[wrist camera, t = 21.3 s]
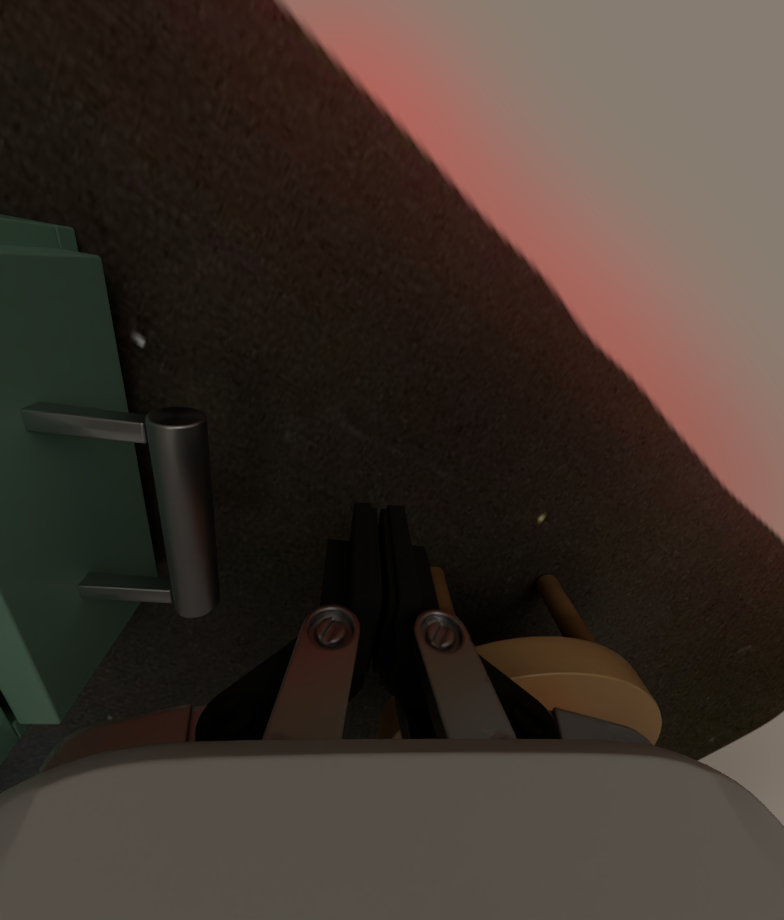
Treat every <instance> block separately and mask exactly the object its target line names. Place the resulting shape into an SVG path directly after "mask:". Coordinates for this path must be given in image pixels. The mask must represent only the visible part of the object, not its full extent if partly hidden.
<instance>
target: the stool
mask: <svg viewBox="0 0 784 920" xmlns="http://www.w3.org/2000/svg"><path fill="white" fill-rule="evenodd" d="M430 569H431V573H432V578H433V582H434V586H435V591H436V595H437V599H438V603H439V608H440V609H441V610H444V611H448V612H450V613H451V614H453V615H455V612H454V608H453V605H452V601H451V597H450V593H449V590H448V586H447V582H446V578H445V575H444V571H443V570H442V569H441V568H439V567H435V566H433V567H430ZM535 585H536V588H537V590H538V592H539V593H540V595H541V597H542V599H543V601H544V603H545V604H546V606H547V608H548V610H549V612H550V614H551V615H552V617H553V619H554V621H555V623H556V625H557V626H558V628H559V630H560V632H561V634H562V636H563V637H559V636H532V637H520V638H512V639H506V640H500V641H495V642H491V643H487V644H483V645H479V646H476V647H475V648H476V651H477V653H478V654H479V655H480V656H482V657H483V658H484V659H486V660H487V661H488V662H489V663H491V664H492V665H493V666H495V667H496V668H497V669H498V670H500V671H501V672H502V673H504V674H505V675H506V676H507V677H509V678H510V679H511V680H513V681H514V682H515V683H516V684H518V685H519V686H520V687H522V688H523V689H524V690H525V691H527V692H528V693H529V694H531V695H532V696H533V697H534V698H536V699H537V700H538V701H539V702H540V703H541V704H542V705H543V706H544V707H545V708H546V709H547V710H551V711H552V710H553V708H554V707H556V708H560V709H564V710H568V711H571V712H575V713H579V714H583V715H587V716H590V717H594V718H598V719H602V720H606V721H609V722H613V723H617V724H621V725H625V726H628V727H630V728H632V729H634V730H637V731H638V732H639V733H641V734H642V735H643V736H645V737H646V738H647V739H648V740H649V741H650V742H651V743H652V744H653V745H654V744H655V743H656V741H657V739H658V736H659V734H660V731H661V724H662V720H661V713H660V710H659V708H658V706H657V703H656V702H655V700H654V699H653V697H652V696H651V694H650V693H649V691H648V690H647V688H646V687H645V685H644V684H643V682H642V681H641V679H640V678H639V676H638V675H637V673H636V672H635V671H634V669H633V668H632V667H631V665H630V664H629V663H628V662H627V661H626V660H625V659H624V658H622V657H621V656H620V655H619V654H617V653H616V652H614V651H612V650H610V649H608V648H606V647H605V646H602V645H599V644H597V643H596V642H595V640H594V638H593V637H592V635H591V634H590V632H589V630H588V629H587V627H586V626H585V624H584V622H583V621H582V619H581V618H580V616H579V614H578V613H577V611H576V610H575V608H574V606H573V605H572V603H571V602H570V600H569V598H568V597H567V595H566V594H565V592H564V590H563V589H562V587H561V586H560V584H559V582H558V581H557V579H556V578H555V577H554V576H553V575H543V576H541V577H540V578H538V579H537V581H536V583H535ZM377 739H402V737H401V732H400V728H399V723H398V719H397V714H396V709H395V697H394V696H392V697H391V698H390V699H389V701H388V702H387V704H386V705H385V707H384V709H383V711H382V713H381V716H380V718H379V721H378V728H377Z"/></svg>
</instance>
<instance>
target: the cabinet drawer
mask: <svg viewBox="0 0 784 920" xmlns="http://www.w3.org/2000/svg"><path fill="white" fill-rule="evenodd" d="M134 442H135V443H147V442H148V443H149V449H150V455H151V462H152V468H153V474H154V481H155V487H156V493H157V500H158V506H159V512H160V518H161V525H162V531H163V537H164V544H165V550H166V556H167V563H168V569H169V575H170V578H167V577H158V574H157V568H156V563H155V557H154V551H153V546H152V540H151V535H150V529H149V523H148V518H147V512H146V507H145V501H144V495H143V490H142V484H141V479H140V473H139V468H138V462H137V456H136V451H135V445H134ZM173 600H174V607H175V610H176V612H177V613H178V614H179V615H181V616H183V617H186V618H196V617H200V616H203V615H206V614H208V613H209V612H211V611H212V610H213V609H214V608H215V607H216V606H217V604H218V602H219V600H220V588H219V575H218V561H217V548H216V534H215V521H214V507H213V494H212V480H211V467H210V453H209V440H208V427H207V417H206V415H205V414H204V413H203V412H202V411H200V410H197V409H193V408H187V407H168V408H161V409H157V410H154V411H152V412H150V413H148V414H147V415H144V414H136V413H129V412H128V406H127V401H126V395H125V389H124V384H123V378H122V373H121V367H120V361H119V356H118V350H117V345H116V339H115V334H114V328H113V322H112V317H111V311H110V306H109V300H108V294H107V289H106V283H105V278H104V272H103V266H102V261H101V258H100V257H99V256H98V255H93V254H87V253H81V252H76V251H70V250H64V249H57V248H42V247H27V246H12V245H0V690H1V692H2V694H3V696H4V697H5V699H6V701H7V703H8V705H9V706H10V708H11V710H12V712H13V713H14V715H15V717H16V719H17V721H18V722H19V723H20V724H60V723H61V722H62V720H63V719H64V717H65V716H66V714H67V713H68V711H69V710H70V708H71V707H72V705H73V704H74V702H75V701H76V699H77V698H78V696H79V695H80V693H81V692H82V690H83V689H84V687H85V686H86V684H87V683H88V681H89V680H90V678H91V677H92V675H93V674H94V672H95V671H96V669H97V668H98V666H99V665H100V663H101V662H102V660H103V659H104V657H105V656H106V654H107V653H108V651H109V650H110V648H111V647H112V645H113V644H114V642H115V640H116V639H117V637H118V636H119V634H120V633H121V631H122V630H123V628H124V627H125V625H126V624H127V622H128V621H129V619H130V618H131V616H132V615H133V613H134V612H135V610H136V609H137V607H138V606H139V604H140V603H141V602H159V603H172V602H173Z"/></svg>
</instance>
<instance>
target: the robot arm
mask: <svg viewBox="0 0 784 920" xmlns="http://www.w3.org/2000/svg"><path fill="white" fill-rule="evenodd" d="M371 655H372V659H373V672H374V673H380V685H383V686H386V689H387V690H388V691H389V692H390V693H391V694H392V695H393V696H394V697H395V709H396V714H397V719H398V723H399V728H400V732H401V737H402V739H342V734H343V728H344V722H345V716H346V711H347V705H348V702H349V701H350V700H351V699H352V698H353V697H354V696H355V695H356V694H357V693H358V692H359V691H360V690H361V689H362V688H363V683H364V677H365V672H368V670H369V665H370V660H371ZM0 920H784V826H783V825H782V824H781V823H780V821H779V820H778V819H777V818H776V817H775V816H774V815H773V814H772V813H771V812H770V811H769V810H768V809H767V808H766V807H765V805H764V804H762V803H761V802H760V801H759V800H758V799H757V798H756V797H755V796H754V795H753V794H752V793H751V792H750V791H748V790H747V789H746V788H744V787H743V786H742V785H740V784H739V783H737V782H736V781H734V780H733V779H731V778H729V777H728V776H726V775H724V774H722V773H721V772H719V771H717V770H715V769H713V768H712V767H710V766H708V765H706V764H703V763H701V762H699V761H696V760H694V759H691V758H689V757H687V756H684V755H682V754H679V753H676V752H673V751H670V750H666V749H662V748H659V747H655V746H654V745H653V744H652V743H651V742H650V741H649V740H648V739H647V738H646V737H645V736H643V735H642V734H641V733H639V732H638V731H637V730H634V729H632V728H630V727H628V726H625V725H621V724H617V723H613V722H609V721H606V720H602V719H598V718H594V717H590V716H587V715H583V714H579V713H575V712H571V711H568V710H564V709H560V708H556V707H554V708H553V710H552V711H551V710H547V709H546V708H545V707H544V706H543V705H542V704H541V703H540V702H539V701H538V700H537V699H536V698H534V697H533V696H532V695H531V694H529V693H528V692H527V691H525V690H524V689H523V688H522V687H520V686H519V685H518V684H516V683H515V682H514V681H513V680H511V679H510V678H509V677H507V676H506V675H505V674H504V673H502V672H501V671H500V670H498V669H497V668H496V667H495V666H493V665H492V664H491V663H489V662H488V661H487V660H486V659H484V658H483V657H482V656H480V655H479V654H478V653H477V651H476V648H475V646H474V644H473V642H472V640H471V637H470V635H469V633H468V631H467V629H466V627H465V626H464V624H463V623H462V621H461V620H460V619H458V618H457V617H456V616H455V615H453V614H451V613H450V612H448V611H444V610H441V609H440V608H439V603H438V599H437V595H436V591H435V586H434V582H433V578H432V573H431V569H430V565H429V561H428V556H427V552H426V549H425V547H423V546H411V540H410V535H409V529H408V524H407V519H406V513H405V508H404V507H403V506H392V505H388V506H387V509H381V512H380V518H379V524H378V517H377V508H371V504H369V503H358V502H355V504H354V512H353V519H352V527H351V534H350V541H340V540H328V546H327V554H326V562H325V570H324V578H323V586H322V594H321V602H320V606H319V607H317V608H315V609H313V610H312V611H311V612H310V613H309V614H308V615H307V616H306V618H305V620H304V621H303V624H302V627H301V630H300V632H299V635H298V637H297V638H296V639H294V640H293V641H291V642H290V643H289V644H287V645H286V646H285V647H283V648H282V649H280V650H279V651H278V652H276V653H275V654H274V655H272V656H271V657H269V658H268V659H267V660H265V661H264V662H263V663H261V664H260V665H258V666H257V667H256V668H254V669H253V670H252V671H250V672H249V673H247V674H246V675H245V676H243V677H242V678H241V679H239V680H238V681H236V682H235V683H234V684H232V685H231V686H230V687H228V688H227V689H225V690H224V691H223V692H221V693H220V694H219V695H217V696H216V697H215V698H214V699H213V700H212V701H211V702H210V703H208V704H207V705H203V706H198V707H194V708H192V704H186V705H181V706H177V707H172V708H167V709H163V710H158V711H154V712H149V713H144V714H140V715H135V716H130V717H126V718H121V719H117V720H112V721H107V722H103V723H98V724H93V725H90V726H88V727H85V728H82V729H79V730H77V731H76V732H74V733H73V734H71V735H69V736H68V737H66V738H65V739H63V740H62V741H61V742H60V743H59V744H58V745H57V746H56V747H55V748H54V749H53V750H52V751H51V752H50V753H49V754H48V756H47V757H46V759H45V761H44V762H43V764H42V766H41V767H40V769H39V771H38V774H37V775H35V776H33V777H31V778H29V779H27V780H25V781H23V782H21V783H19V784H17V785H15V786H13V787H11V788H9V789H7V790H5V791H3V792H2V793H0Z"/></svg>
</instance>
